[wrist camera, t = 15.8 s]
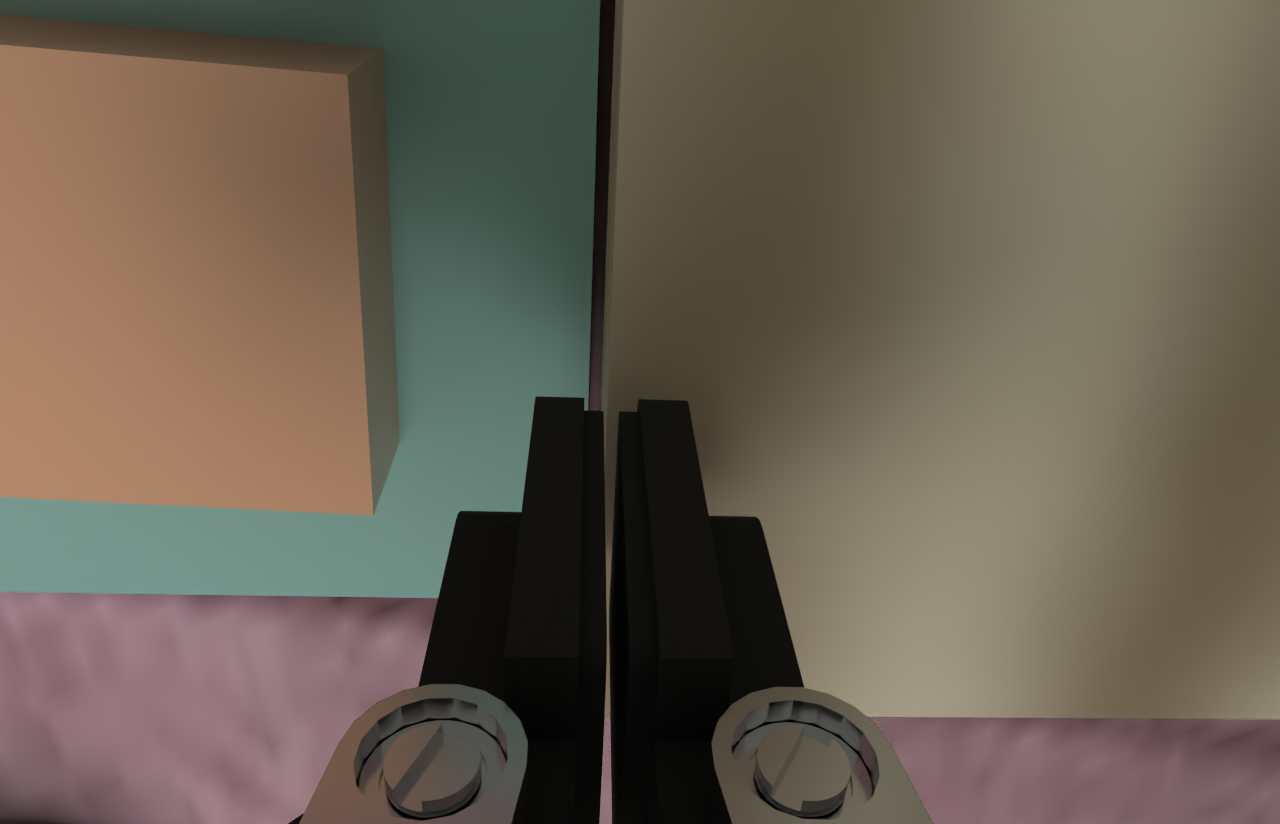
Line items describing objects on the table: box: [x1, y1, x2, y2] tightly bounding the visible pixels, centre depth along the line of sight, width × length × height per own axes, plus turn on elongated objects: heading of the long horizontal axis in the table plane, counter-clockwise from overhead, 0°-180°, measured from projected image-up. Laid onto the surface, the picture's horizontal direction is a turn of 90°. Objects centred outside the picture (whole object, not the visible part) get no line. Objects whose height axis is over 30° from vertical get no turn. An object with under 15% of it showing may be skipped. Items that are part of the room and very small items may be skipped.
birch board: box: [600, 0, 1280, 719], centre depth 11 cm, size 16×16×4 cm
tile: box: [0, 14, 399, 515], centre depth 12 cm, size 6×6×2 cm
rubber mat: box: [0, 0, 600, 598], centre depth 12 cm, size 14×18×1 cm
